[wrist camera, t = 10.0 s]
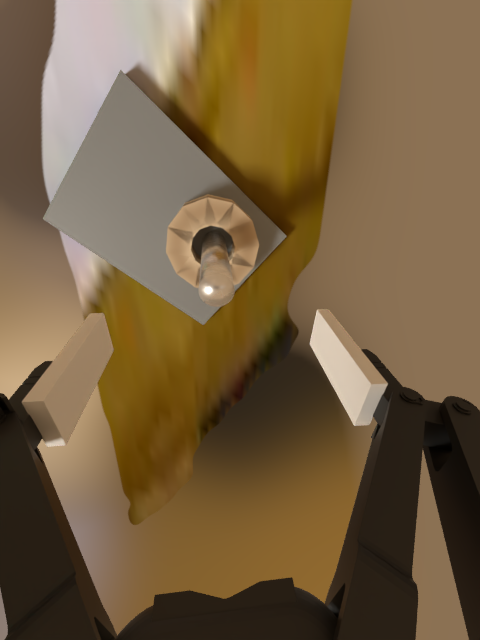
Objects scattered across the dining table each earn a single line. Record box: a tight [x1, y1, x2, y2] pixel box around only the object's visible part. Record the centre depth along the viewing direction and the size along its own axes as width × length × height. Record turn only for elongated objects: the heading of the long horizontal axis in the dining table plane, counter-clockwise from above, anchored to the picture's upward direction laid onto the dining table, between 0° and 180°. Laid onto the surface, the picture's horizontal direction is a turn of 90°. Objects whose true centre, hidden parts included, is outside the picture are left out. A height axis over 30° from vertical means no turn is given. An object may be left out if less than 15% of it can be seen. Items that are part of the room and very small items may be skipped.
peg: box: [199, 231, 235, 307], centre depth 28 cm, size 3×3×15 cm
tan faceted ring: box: [166, 194, 259, 288], centre depth 33 cm, size 11×11×3 cm
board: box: [43, 70, 286, 325], centre depth 34 cm, size 24×18×2 cm
